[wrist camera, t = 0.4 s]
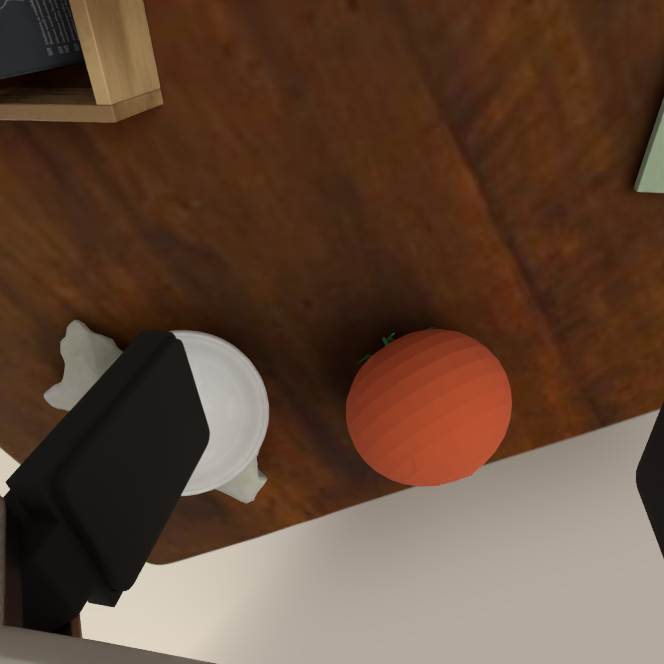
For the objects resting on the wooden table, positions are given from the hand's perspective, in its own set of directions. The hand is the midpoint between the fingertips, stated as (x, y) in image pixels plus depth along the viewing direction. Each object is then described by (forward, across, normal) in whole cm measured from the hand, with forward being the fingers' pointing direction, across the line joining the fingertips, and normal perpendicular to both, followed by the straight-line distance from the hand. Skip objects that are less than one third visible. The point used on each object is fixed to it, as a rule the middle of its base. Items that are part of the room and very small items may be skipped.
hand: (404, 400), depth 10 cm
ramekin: (+18, +18, +18) cm, 31 cm away
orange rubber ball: (+12, -3, +17) cm, 21 cm away
